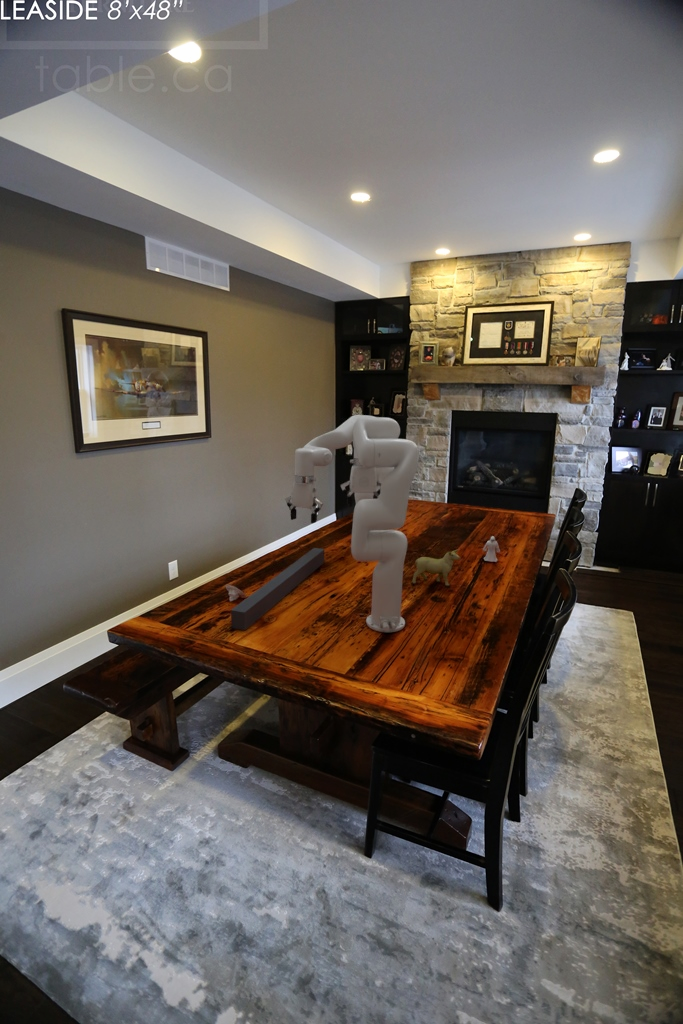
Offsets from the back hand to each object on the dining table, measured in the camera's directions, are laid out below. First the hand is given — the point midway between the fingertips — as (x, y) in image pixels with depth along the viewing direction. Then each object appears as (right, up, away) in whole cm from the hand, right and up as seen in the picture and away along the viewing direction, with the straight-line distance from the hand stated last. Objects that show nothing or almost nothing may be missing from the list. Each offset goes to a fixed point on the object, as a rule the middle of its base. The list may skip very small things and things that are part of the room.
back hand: (303, 520), depth 204 cm
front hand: (+24, +6, -8) cm, 26 cm away
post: (-6, -26, -16) cm, 31 cm away
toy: (+52, -25, -7) cm, 58 cm away
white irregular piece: (-23, -28, -25) cm, 44 cm away
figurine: (+83, -18, +21) cm, 87 cm away
